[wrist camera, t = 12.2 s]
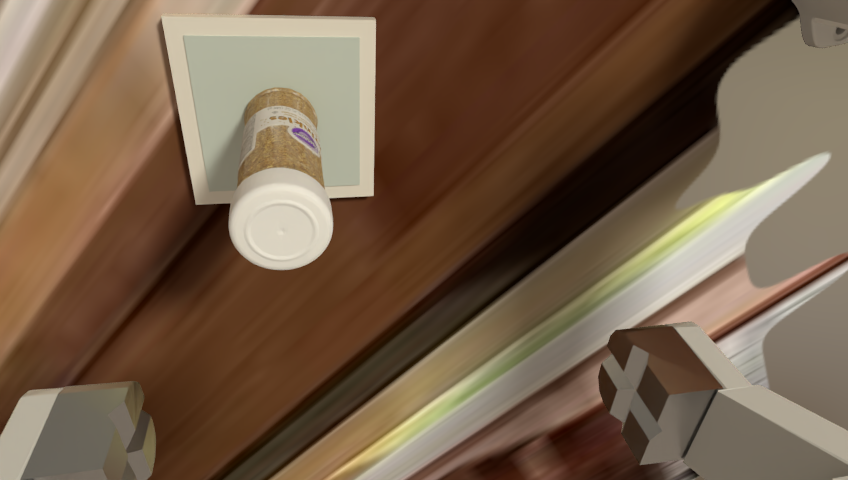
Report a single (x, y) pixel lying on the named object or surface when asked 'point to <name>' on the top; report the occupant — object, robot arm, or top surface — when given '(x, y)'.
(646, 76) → the top surface
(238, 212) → the sprinkles bottle
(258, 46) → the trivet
